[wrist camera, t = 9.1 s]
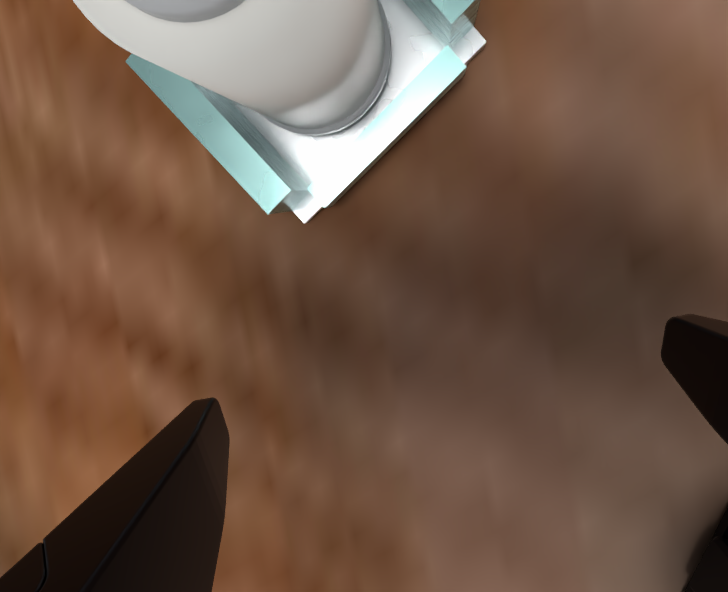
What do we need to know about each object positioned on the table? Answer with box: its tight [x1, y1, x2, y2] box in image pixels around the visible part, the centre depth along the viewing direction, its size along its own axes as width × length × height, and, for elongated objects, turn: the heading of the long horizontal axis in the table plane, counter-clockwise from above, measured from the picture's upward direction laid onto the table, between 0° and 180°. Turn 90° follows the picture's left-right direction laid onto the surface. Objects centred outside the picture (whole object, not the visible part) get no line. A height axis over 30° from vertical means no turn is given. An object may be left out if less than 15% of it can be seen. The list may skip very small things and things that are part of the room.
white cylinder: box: [73, 0, 391, 136], centre depth 13 cm, size 6×6×10 cm
